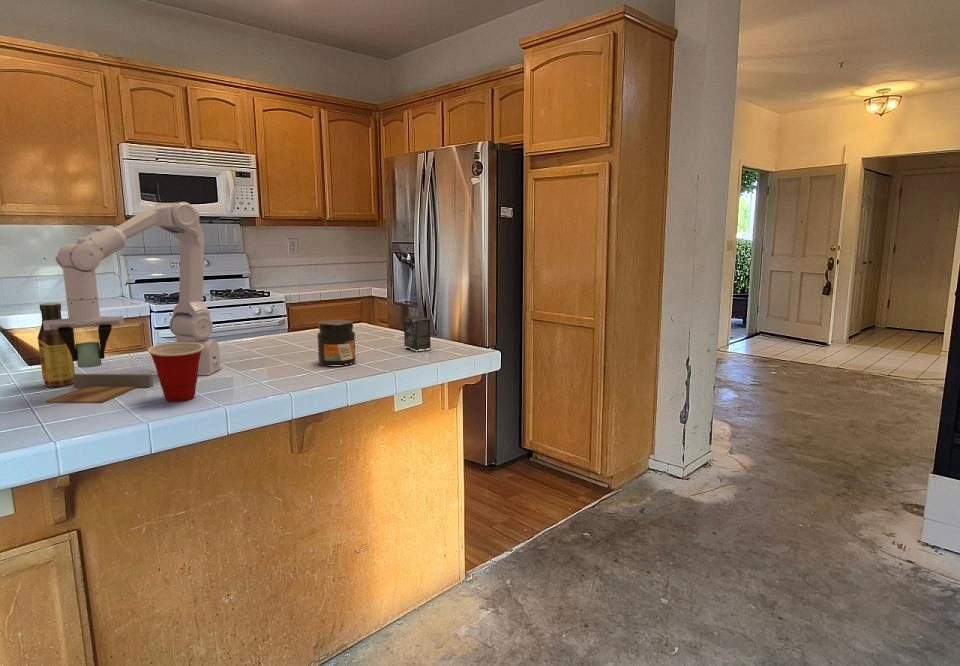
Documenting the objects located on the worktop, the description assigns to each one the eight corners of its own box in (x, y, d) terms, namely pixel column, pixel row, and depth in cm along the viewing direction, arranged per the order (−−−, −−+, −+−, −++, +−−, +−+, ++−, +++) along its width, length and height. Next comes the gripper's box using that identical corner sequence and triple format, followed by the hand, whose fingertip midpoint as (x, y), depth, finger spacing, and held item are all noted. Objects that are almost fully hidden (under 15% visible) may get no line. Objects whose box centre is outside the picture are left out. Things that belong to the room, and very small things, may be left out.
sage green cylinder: (103, 362, 129) (101, 341, 128) (99, 366, 125) (96, 344, 124) (80, 364, 127) (78, 342, 126) (75, 368, 123) (72, 346, 122)
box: (403, 348, 184) (403, 316, 183) (419, 346, 188) (418, 315, 186) (415, 352, 178) (415, 319, 176) (431, 350, 181) (430, 318, 179)
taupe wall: (153, 386, 135) (152, 374, 135) (150, 387, 134) (149, 375, 134) (77, 385, 135) (76, 373, 135) (74, 387, 134) (72, 374, 133)
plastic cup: (157, 408, 117) (152, 352, 115) (148, 397, 126) (143, 345, 124) (213, 400, 124) (209, 346, 122) (200, 389, 132) (196, 339, 131)
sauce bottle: (48, 382, 138) (39, 302, 134) (79, 380, 140) (70, 301, 137) (39, 389, 132) (29, 305, 128) (71, 387, 134) (61, 304, 131)
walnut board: (135, 388, 133) (135, 386, 133) (102, 402, 121) (102, 401, 121) (84, 388, 133) (84, 386, 133) (46, 402, 121) (46, 400, 121)
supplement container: (351, 367, 156) (349, 325, 155) (313, 367, 157) (311, 324, 155) (359, 359, 167) (358, 319, 165) (324, 359, 167) (323, 319, 165)
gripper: (121, 295, 131) (126, 352, 133) (43, 298, 123) (50, 359, 125) (121, 298, 125) (127, 358, 127) (39, 301, 117) (47, 365, 119)
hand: (89, 359), depth 126 cm, fingers closed on sage green cylinder, 4 cm apart
